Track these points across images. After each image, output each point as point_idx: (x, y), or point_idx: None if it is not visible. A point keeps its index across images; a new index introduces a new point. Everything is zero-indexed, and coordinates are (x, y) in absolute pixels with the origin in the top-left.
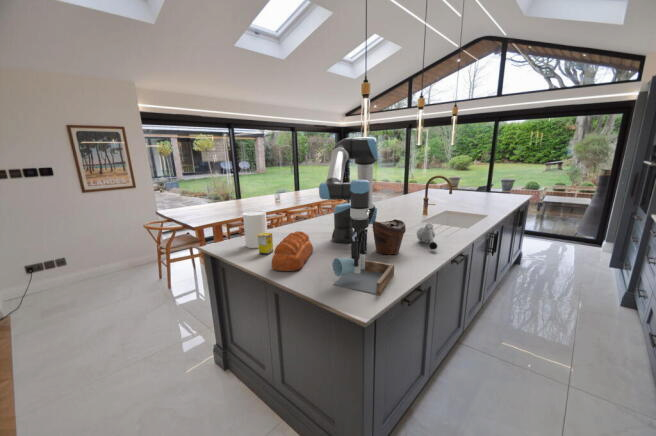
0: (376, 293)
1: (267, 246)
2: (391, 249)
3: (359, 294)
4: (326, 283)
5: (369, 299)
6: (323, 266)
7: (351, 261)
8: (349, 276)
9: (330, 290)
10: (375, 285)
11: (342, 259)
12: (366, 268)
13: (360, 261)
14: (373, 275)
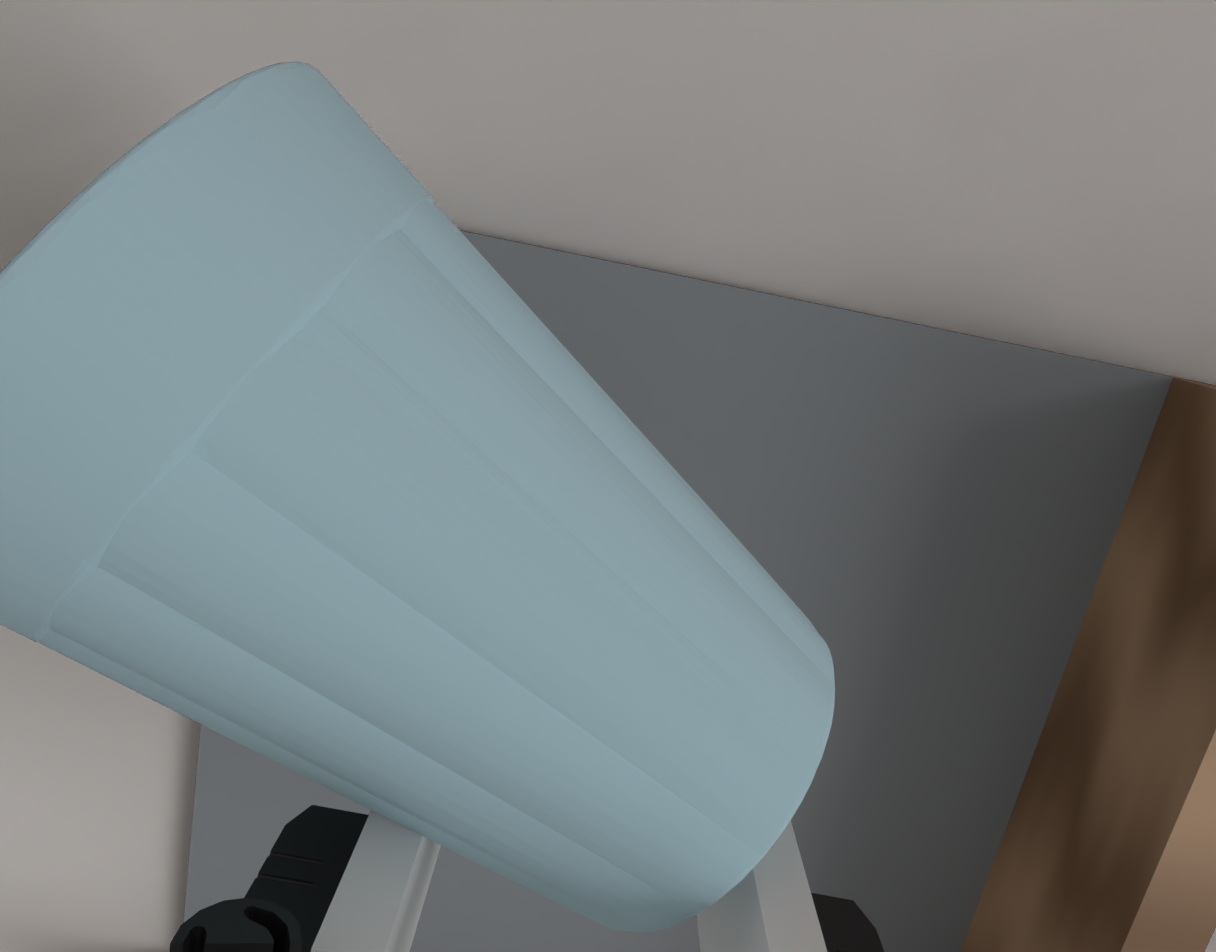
0: None
1: None
2: None
3: (91, 727)
4: (273, 23)
5: (5, 879)
6: None
7: (348, 781)
8: (692, 446)
9: (17, 206)
10: (444, 926)
11: (49, 559)
12: (1070, 741)
13: (733, 896)
14: (833, 859)
